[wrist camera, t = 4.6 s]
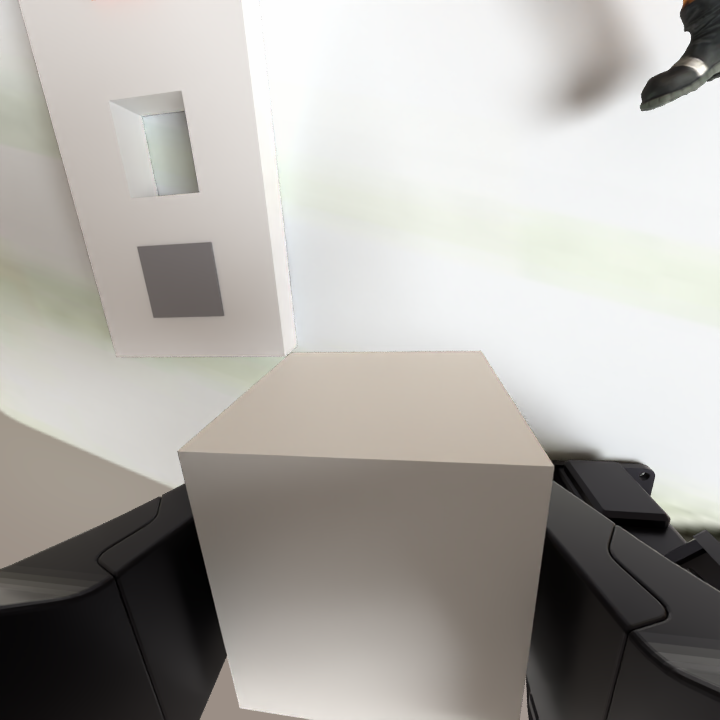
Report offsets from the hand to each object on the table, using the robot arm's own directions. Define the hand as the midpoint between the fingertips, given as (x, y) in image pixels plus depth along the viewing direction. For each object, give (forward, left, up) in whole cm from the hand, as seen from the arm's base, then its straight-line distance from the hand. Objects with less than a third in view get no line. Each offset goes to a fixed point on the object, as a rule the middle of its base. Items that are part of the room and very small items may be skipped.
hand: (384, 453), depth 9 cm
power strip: (+10, +11, -11) cm, 18 cm away
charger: (0, 0, -2) cm, 2 cm away
